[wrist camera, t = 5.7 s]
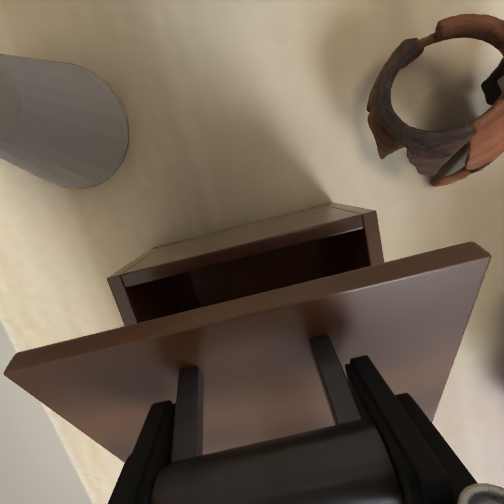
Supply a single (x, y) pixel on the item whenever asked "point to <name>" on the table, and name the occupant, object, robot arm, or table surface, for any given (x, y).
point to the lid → (270, 381)
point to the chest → (247, 261)
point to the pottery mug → (449, 141)
